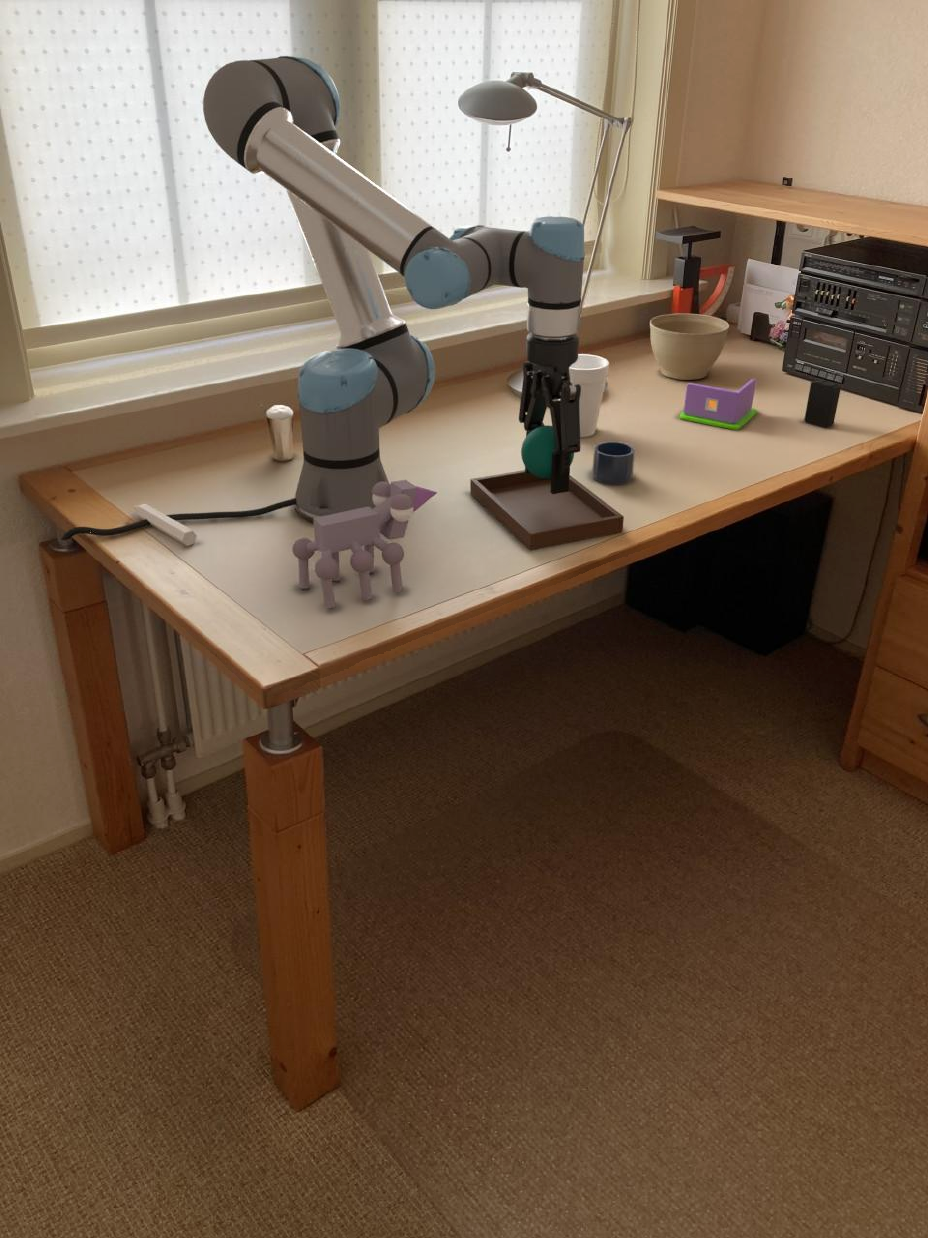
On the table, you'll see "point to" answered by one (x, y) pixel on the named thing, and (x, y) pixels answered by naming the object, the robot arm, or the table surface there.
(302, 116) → the robot arm
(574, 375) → the foam cup
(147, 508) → the marker
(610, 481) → the cup
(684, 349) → the planter bowl
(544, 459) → the ball
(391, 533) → the toy sheep
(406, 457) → the table surface
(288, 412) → the milkshake
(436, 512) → the table surface
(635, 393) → the table surface
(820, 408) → the ink cartridge
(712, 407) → the toy room diorama
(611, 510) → the tray
